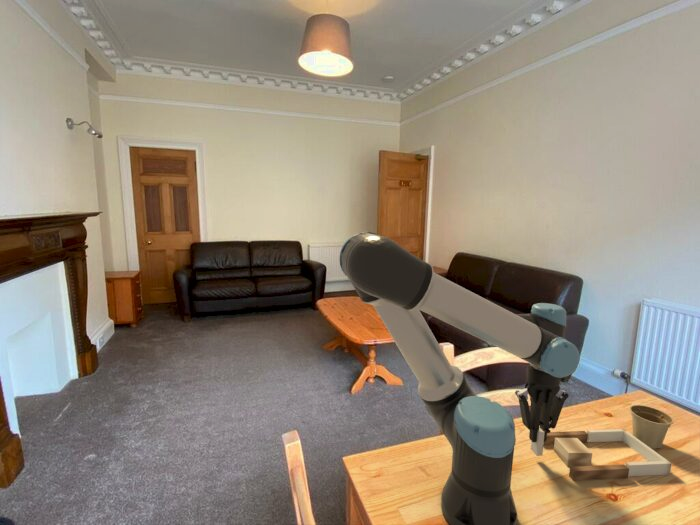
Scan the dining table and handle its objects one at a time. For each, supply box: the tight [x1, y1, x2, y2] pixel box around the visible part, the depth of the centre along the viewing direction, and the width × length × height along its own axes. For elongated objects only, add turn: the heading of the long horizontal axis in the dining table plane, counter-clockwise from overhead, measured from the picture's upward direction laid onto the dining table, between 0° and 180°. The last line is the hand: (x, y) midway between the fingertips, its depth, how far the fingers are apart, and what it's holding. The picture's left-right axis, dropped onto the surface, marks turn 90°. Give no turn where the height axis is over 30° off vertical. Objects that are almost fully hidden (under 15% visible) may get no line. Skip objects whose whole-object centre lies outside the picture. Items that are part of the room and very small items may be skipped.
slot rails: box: [543, 430, 629, 482], centre depth 94 cm, size 14×15×2 cm
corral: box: [586, 428, 672, 477], centre depth 95 cm, size 11×14×3 cm
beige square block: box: [553, 438, 593, 468], centre depth 93 cm, size 6×6×4 cm
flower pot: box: [629, 404, 675, 450], centre depth 100 cm, size 9×9×9 cm
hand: (536, 452), depth 92 cm, fingers closed
